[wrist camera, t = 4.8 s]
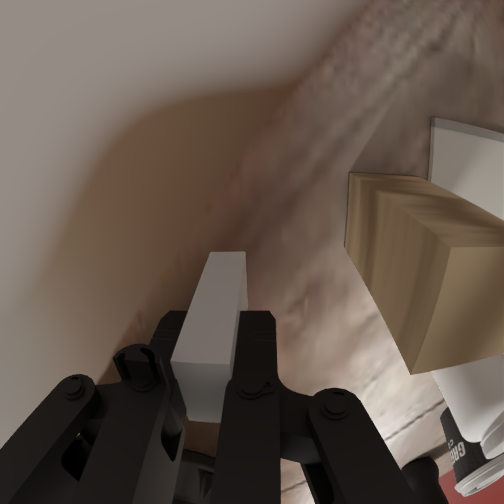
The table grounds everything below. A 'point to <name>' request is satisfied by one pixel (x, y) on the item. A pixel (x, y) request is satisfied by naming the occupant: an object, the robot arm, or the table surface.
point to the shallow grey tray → (468, 163)
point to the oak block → (428, 268)
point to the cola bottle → (425, 481)
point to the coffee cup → (469, 459)
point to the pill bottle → (476, 401)
